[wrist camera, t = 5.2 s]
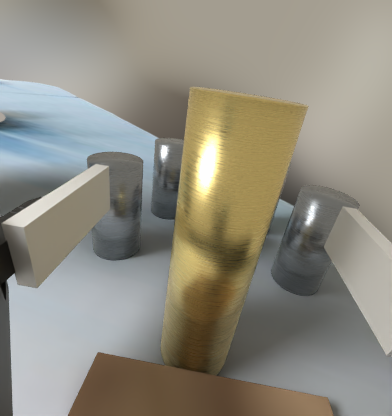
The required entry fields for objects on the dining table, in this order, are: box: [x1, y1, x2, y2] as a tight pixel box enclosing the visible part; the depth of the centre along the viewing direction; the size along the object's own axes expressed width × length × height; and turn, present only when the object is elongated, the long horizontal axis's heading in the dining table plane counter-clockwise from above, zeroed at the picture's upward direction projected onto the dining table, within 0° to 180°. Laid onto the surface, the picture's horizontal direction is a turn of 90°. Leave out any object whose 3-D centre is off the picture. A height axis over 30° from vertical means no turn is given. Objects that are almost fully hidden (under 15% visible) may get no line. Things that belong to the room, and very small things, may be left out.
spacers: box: [87, 138, 359, 296], centre depth 24 cm, size 20×12×8 cm, turn 84°
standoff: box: [161, 87, 308, 376], centre depth 12 cm, size 4×4×14 cm
